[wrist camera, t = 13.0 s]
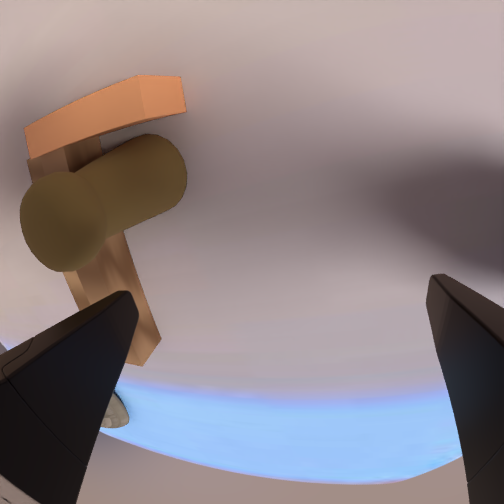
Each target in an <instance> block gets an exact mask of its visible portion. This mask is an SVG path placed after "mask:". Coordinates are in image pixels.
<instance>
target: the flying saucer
mask: <svg viewBox="0 0 504 504" xmlns="http://www.w3.org/2000/svg"><path fill="white" fill-rule="evenodd" d="M128 422H129V415H128V413H127V410H126V408H125V407H124V405H123V404H122V402H121V401H120V399H119V398H118V397H117V396H116V395H115V394H114V392H113V394H112V397H111V400H110V402H109V405H108V408H107V410H106V413H105V416H104V419H103V421H102V424H101V427H105V428H118V427H122V426H125V425H127V424H128Z"/></svg>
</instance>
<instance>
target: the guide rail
mask: <svg viewBox="0 0 504 504" xmlns="http://www.w3.org/2000/svg"><path fill="white" fill-rule="evenodd" d="M183 112H187V111H186V105H185V100H184V94H183V89H182V83H181V77H175V76H152V75H137V76H134V77H132V78H129V79H126V80H124V81H121V82H119V83H116V84H113V85H111V86H109V87H106V88H104V89H101V90H99V91H97V92H94V93H92V94H90V95H88V96H85V97H83V98H81V99H79V100H77V101H75V102H72V103H70V104H68V105H66V106H64V107H62V108H60V109H58V110H56V111H54V112H52V113H50V114H49V115H47V116H45V117H43V118H41V119H39V120H37V121H36V122H34V123H32V124H30V125H29V126H27V127H25V128H24V131H25V136H26V141H27V146H28V150H29V155H30V159H28V160H27V163H28V167H29V171H30V175H31V179H32V183H34V182H36V181H37V180H38V179H39V178H42V177H44V176H46V175H49V174H52V173H54V172H63V171H64V172H73V173H75V172H77V171H78V170H80V169H81V168H83V167H85V166H86V165H88V164H89V163H91V162H93V161H94V160H96V159H98V158H99V157H101V156H103V153H102V149H101V144H100V140H99V136H101V135H104V134H107V133H110V132H113V131H117V130H120V129H123V128H126V127H130V126H133V125H137V124H140V123H144V122H148V121H151V120H155V119H159V118H163V117H167V116H171V115H175V114H179V113H183ZM63 274H64V276H65V279H66V281H67V284H68V286H69V288H70V291H71V293H72V295H73V297H74V300H75V302H76V304H77V306H78V308H79V310H80V311H81V310H83V309H84V308H86V307H88V306H90V305H92V304H94V303H96V302H97V301H99V300H101V299H103V298H105V297H107V296H109V295H110V294H112V293H114V292H116V291H119V290H128V291H130V292H131V293H132V296H133V298H134V301H135V303H136V306H137V308H138V311H139V320H138V323H137V326H136V329H135V333H134V336H133V339H132V343H131V346H130V350H129V353H128V356H127V359H126V361H125V363H128V364H133V365H138V366H143V365H144V364H145V362H146V361H147V359H148V358H149V356H150V355H151V353H152V352H153V351H154V349H155V348H156V346H157V345H158V343H159V342H160V340H161V337H160V334H159V332H158V329H157V327H156V324H155V322H154V319H153V316H152V314H151V311H150V309H149V306H148V303H147V300H146V298H145V295H144V292H143V289H142V287H141V284H140V281H139V278H138V275H137V272H136V269H135V266H134V264H133V260H132V257H131V254H130V251H129V248H128V245H127V242H126V239H125V235H124V232H123V231H121V232H119V233H117V234H115V235H113V236H111V237H109V238H107V239H105V242H104V244H103V246H102V248H101V249H100V251H99V252H98V254H97V255H96V257H95V258H94V259H93V260H92V261H91V262H89V263H88V264H87V265H85V266H84V267H82V268H80V269H78V270H75V271H73V272H63Z"/></svg>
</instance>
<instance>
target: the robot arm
mask: <svg viewBox="0 0 504 504" xmlns="http://www.w3.org/2000/svg"><path fill="white" fill-rule="evenodd" d="M426 307H427V311H428V316H429V320H430V324H431V329H432V334H433V339H434V343H435V348H436V352H437V356H438V359H439V362H440V365H441V369H442V372H443V376H444V379H445V382H446V386H447V390H448V393H449V397H450V401H451V405H452V409H453V413H454V417H455V421H456V426H457V430H458V435H459V439H460V444H461V449H462V455H463V460H464V465H465V472H466V478H467V482H468V484H467V487H468V494H469V502H470V504H504V308H502V307H501V306H499V305H497V304H496V303H494V302H492V301H491V300H489V299H487V298H486V297H484V296H482V295H481V294H479V293H477V292H475V291H474V290H472V289H470V288H469V287H467V286H465V285H463V284H462V283H460V282H458V281H456V280H455V279H453V278H451V277H449V276H447V275H446V274H434V275H432V276H431V277H430V280H429V286H428V292H427V298H426ZM138 320H139V311H138V308H137V306H136V303H135V301H134V298H133V296H132V293H131V292H130V291H128V290H119V291H116V292H114V293H112V294H110V295H109V296H107V297H105V298H103V299H101V300H99V301H97V302H96V303H94V304H92V305H90V306H88V307H86V308H84V309H83V310H81V311H79V312H77V313H75V314H74V315H72V316H70V317H68V318H66V319H64V320H63V321H61V322H59V323H57V324H55V325H54V326H52V327H50V328H48V329H46V330H45V331H43V332H41V333H39V334H38V335H36V336H35V337H32V338H30V339H29V340H27V341H25V342H23V343H21V344H20V345H18V346H16V347H14V348H12V349H10V350H8V351H6V352H5V353H3V354H1V355H0V504H76V502H77V498H78V495H79V492H80V488H81V485H82V482H83V479H84V475H85V472H86V469H87V465H88V462H89V459H90V456H91V453H92V450H93V447H94V444H95V441H96V438H97V435H98V433H99V430H100V427H101V424H102V421H103V419H104V416H105V413H106V410H107V408H108V405H109V402H110V400H111V397H112V394H113V392H114V389H115V387H116V384H117V382H118V379H119V376H120V374H121V371H122V369H123V366H124V364H125V361H126V359H127V356H128V353H129V350H130V346H131V343H132V339H133V336H134V333H135V329H136V326H137V323H138Z"/></svg>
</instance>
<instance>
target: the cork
mask: <svg viewBox="0 0 504 504" xmlns="http://www.w3.org/2000/svg"><path fill="white" fill-rule="evenodd" d="M186 182H187V171H186V167H185V163H184V160H183V158H182V156H181V155H180V153H179V151H178V149H177V148H176V147H175V146H174V145H173V144H172V143H171V142H170V141H168V140H167V139H165V138H163V137H161V136H158V135H153V134H144V135H141V136H138V137H135V138H133V139H131V140H129V141H128V142H126V143H124V144H122V145H120V146H118V147H117V148H115V149H113V150H111V151H110V152H108V153H106V154H104V155H103V156H101V157H99V158H98V159H96V160H94V161H93V162H91V163H89V164H88V165H86V166H85V167H83V168H81V169H80V170H78V171H77V172H75V173H73V172H64V171H63V172H54V173H52V174H49V175H46V176H44V177H42V178H39V179H38V180H37V181H36V182H34V183H33V184H32V185H31V187H30V188H29V189H28V190H27V192H26V194H25V195H24V197H23V199H22V203H21V207H20V223H21V228H22V233H23V235H24V238H25V241H26V243H27V245H28V247H29V248H30V250H31V252H32V253H33V254H34V255H35V257H36V258H37V259H38V260H39V261H40V262H41V263H42V264H44V265H45V266H46V267H47V268H49V269H51V270H54V271H56V272H73V271H75V270H78V269H80V268H82V267H84V266H85V265H87V264H88V263H89V262H91V261H92V260H93V259H94V258H95V257H96V255H97V254H98V252H99V251H100V249H101V248H102V246H103V244H104V242H105V239H107V238H109V237H111V236H113V235H115V234H117V233H119V232H121V231H123V230H126V229H128V228H130V227H132V226H134V225H136V224H138V223H141V222H143V221H145V220H147V219H149V218H152V217H154V216H156V215H158V214H161V213H163V212H165V211H167V210H169V209H171V208H172V207H174V206H175V205H176V204H177V203H178V202H179V201H180V199H181V198H182V197H183V194H184V191H185V188H186Z"/></svg>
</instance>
